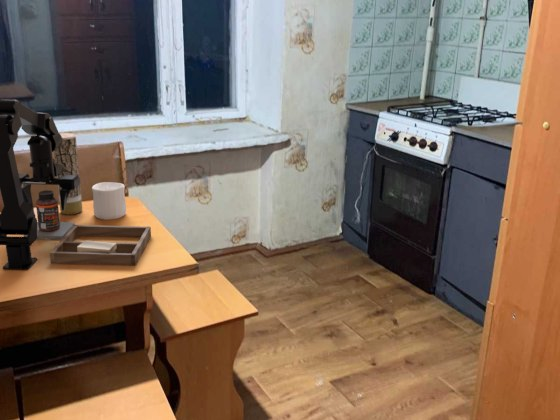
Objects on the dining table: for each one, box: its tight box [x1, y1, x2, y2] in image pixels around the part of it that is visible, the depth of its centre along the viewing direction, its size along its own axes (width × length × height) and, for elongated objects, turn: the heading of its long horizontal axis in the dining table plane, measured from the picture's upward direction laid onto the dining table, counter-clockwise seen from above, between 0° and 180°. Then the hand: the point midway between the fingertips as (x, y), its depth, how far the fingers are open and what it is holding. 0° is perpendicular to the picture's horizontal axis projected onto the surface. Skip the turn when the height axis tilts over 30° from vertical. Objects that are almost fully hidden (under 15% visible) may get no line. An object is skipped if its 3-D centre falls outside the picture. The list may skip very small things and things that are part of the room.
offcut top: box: [77, 239, 117, 253], centre depth 157 cm, size 4×9×2 cm, turn 81°
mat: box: [23, 221, 76, 241], centre depth 174 cm, size 11×11×1 cm
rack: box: [49, 224, 152, 267], centre depth 164 cm, size 20×22×3 cm
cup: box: [91, 181, 127, 220], centre depth 188 cm, size 10×10×10 cm
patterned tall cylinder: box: [53, 132, 83, 215], centre depth 187 cm, size 7×7×25 cm
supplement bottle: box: [35, 189, 61, 232], centre depth 172 cm, size 6×6×11 cm
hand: (47, 209), depth 172 cm, fingers open, 9 cm apart
